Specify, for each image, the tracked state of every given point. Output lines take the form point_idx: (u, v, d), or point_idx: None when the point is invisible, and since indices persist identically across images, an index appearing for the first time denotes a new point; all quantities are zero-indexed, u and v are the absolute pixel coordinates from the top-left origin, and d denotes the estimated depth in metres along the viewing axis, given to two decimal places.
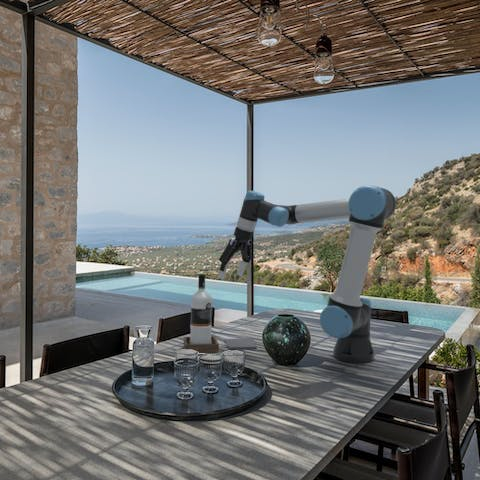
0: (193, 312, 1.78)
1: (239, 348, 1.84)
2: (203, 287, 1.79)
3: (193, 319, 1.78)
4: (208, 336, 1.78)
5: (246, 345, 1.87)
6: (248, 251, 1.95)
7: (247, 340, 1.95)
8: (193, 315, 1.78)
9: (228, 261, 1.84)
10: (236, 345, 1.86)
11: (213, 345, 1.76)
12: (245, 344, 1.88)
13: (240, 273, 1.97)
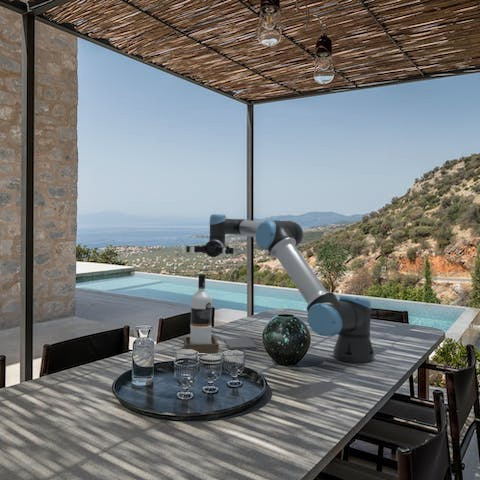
0: (193, 312, 1.78)
1: (239, 348, 1.84)
2: (203, 287, 1.79)
3: (193, 319, 1.78)
4: (208, 336, 1.78)
5: (246, 345, 1.87)
6: None
7: (247, 340, 1.95)
8: (193, 315, 1.78)
9: (194, 246, 1.98)
10: (236, 345, 1.86)
11: (213, 345, 1.76)
12: (245, 344, 1.88)
13: (222, 250, 1.90)
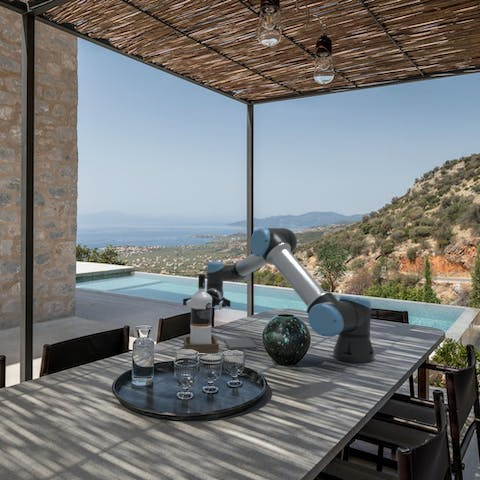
0: (193, 312, 1.78)
1: (239, 348, 1.84)
2: (203, 287, 1.79)
3: (193, 319, 1.78)
4: (208, 336, 1.78)
5: (246, 345, 1.87)
6: None
7: (247, 340, 1.95)
8: (193, 315, 1.78)
9: (190, 299, 1.96)
10: (236, 345, 1.86)
11: (213, 345, 1.76)
12: (245, 344, 1.88)
13: None
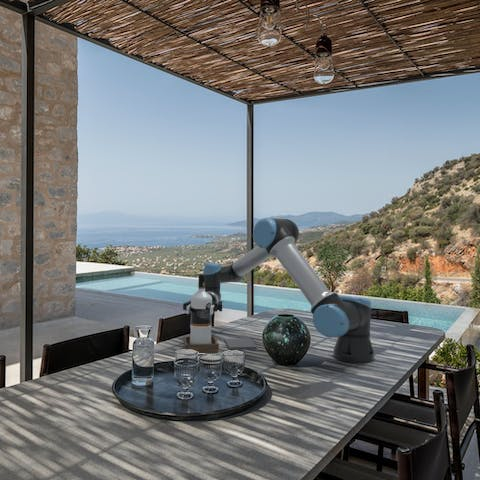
0: (193, 312, 1.78)
1: (239, 348, 1.84)
2: (203, 287, 1.79)
3: (193, 319, 1.78)
4: (208, 336, 1.78)
5: (246, 345, 1.87)
6: (218, 304, 1.87)
7: (247, 340, 1.95)
8: (193, 315, 1.78)
9: None
10: (236, 345, 1.86)
11: (213, 345, 1.76)
12: (245, 344, 1.88)
13: (210, 309, 1.77)
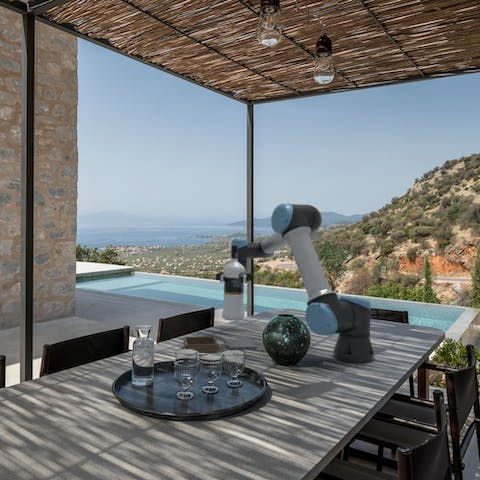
0: (227, 281, 1.86)
1: (239, 348, 1.84)
2: (236, 257, 1.87)
3: (227, 288, 1.86)
4: (241, 304, 1.86)
5: (246, 345, 1.87)
6: (249, 275, 1.95)
7: (247, 340, 1.95)
8: (227, 284, 1.86)
9: None
10: (236, 345, 1.86)
11: (213, 345, 1.76)
12: (245, 344, 1.88)
13: None
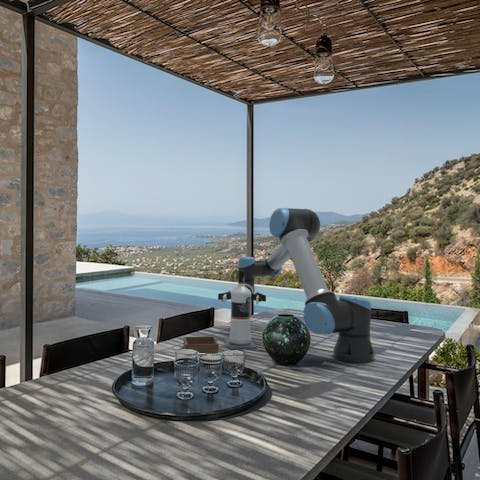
0: (234, 306, 1.88)
1: (239, 348, 1.84)
2: (243, 282, 1.89)
3: (234, 312, 1.88)
4: (248, 329, 1.88)
5: (246, 345, 1.87)
6: (259, 295, 1.98)
7: None
8: (234, 309, 1.88)
9: (226, 294, 1.95)
10: (236, 345, 1.86)
11: (213, 345, 1.76)
12: None
13: (256, 299, 1.88)
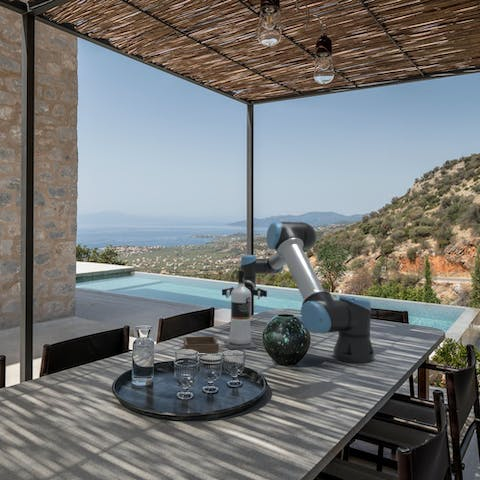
0: (234, 306, 1.88)
1: (239, 348, 1.84)
2: (243, 282, 1.89)
3: (234, 312, 1.88)
4: (248, 329, 1.88)
5: (246, 345, 1.87)
6: (260, 291, 2.11)
7: None
8: (234, 309, 1.88)
9: (229, 289, 2.08)
10: (236, 345, 1.86)
11: (213, 345, 1.76)
12: None
13: (257, 294, 2.01)
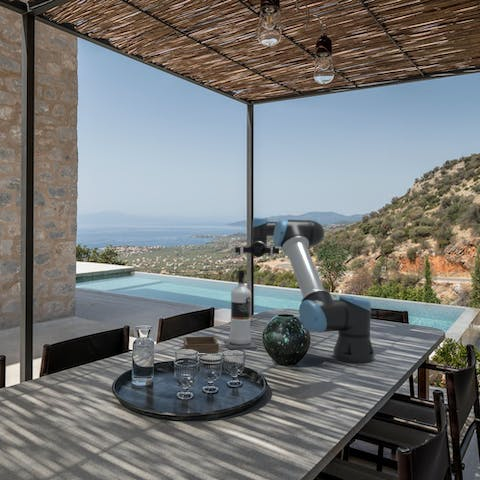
0: (234, 306, 1.88)
1: (239, 348, 1.84)
2: (243, 282, 1.89)
3: (234, 312, 1.88)
4: (248, 329, 1.88)
5: (246, 345, 1.87)
6: None
7: None
8: (234, 309, 1.88)
9: (242, 247, 2.14)
10: (236, 345, 1.86)
11: (213, 345, 1.76)
12: None
13: (270, 250, 2.07)
